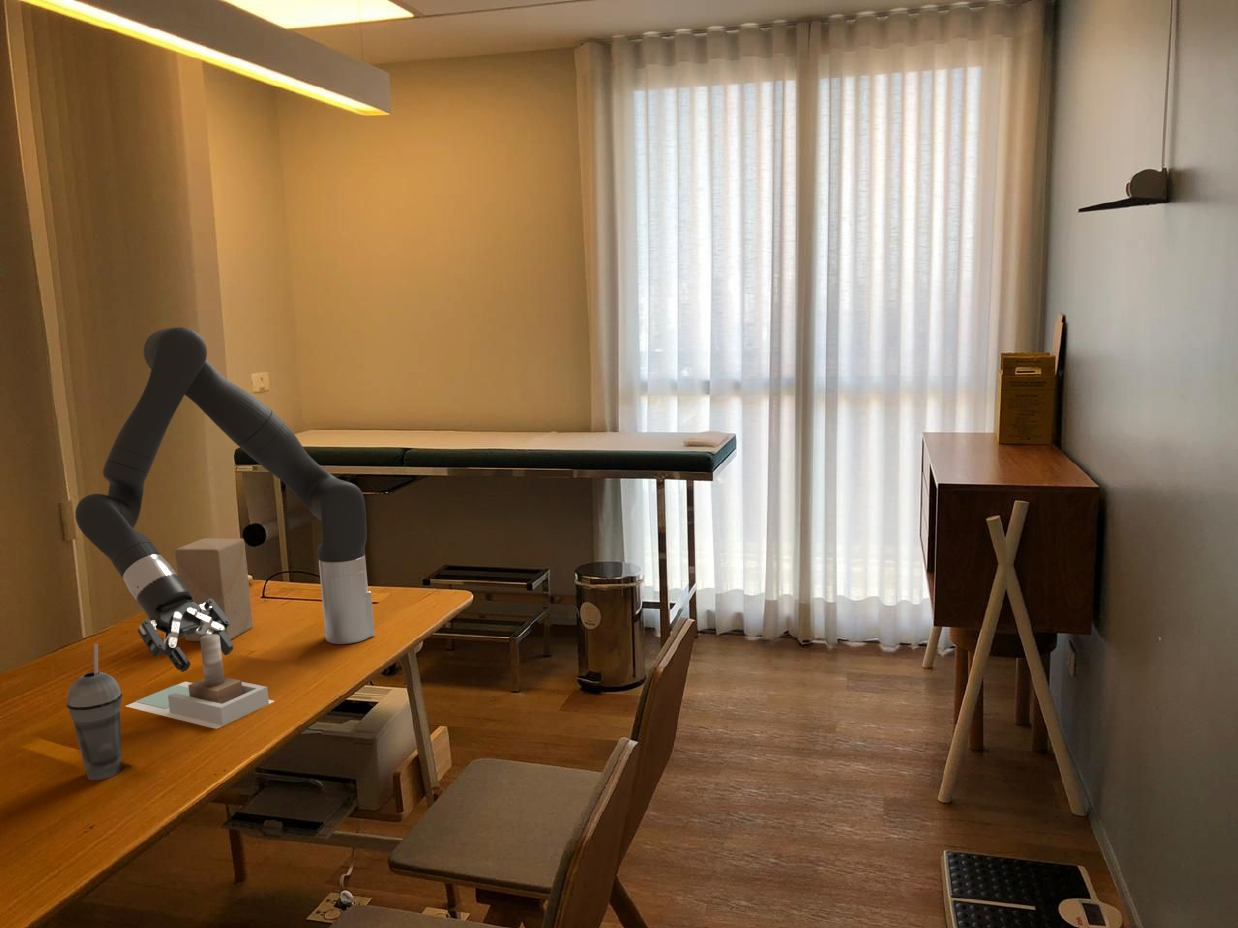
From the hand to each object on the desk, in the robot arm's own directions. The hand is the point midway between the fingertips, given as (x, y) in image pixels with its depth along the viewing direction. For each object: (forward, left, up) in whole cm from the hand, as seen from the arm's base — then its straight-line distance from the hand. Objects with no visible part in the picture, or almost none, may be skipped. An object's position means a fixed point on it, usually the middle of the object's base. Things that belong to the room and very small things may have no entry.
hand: (208, 660), depth 163 cm
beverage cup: (+18, +13, -10) cm, 24 cm away
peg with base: (0, +1, -8) cm, 8 cm away
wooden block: (-8, -46, -10) cm, 48 cm away
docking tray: (+2, -3, -10) cm, 10 cm away
